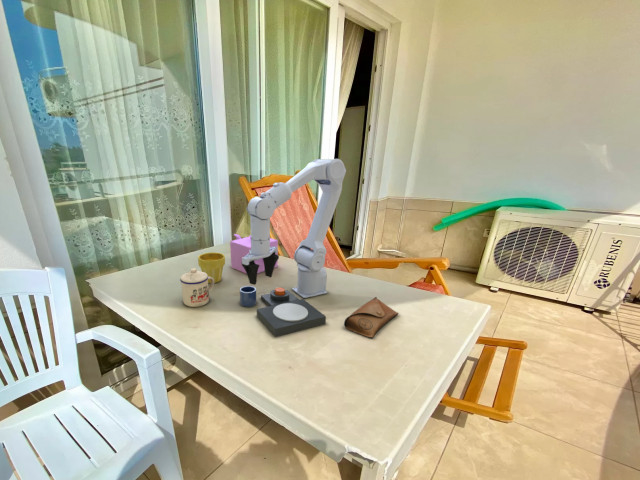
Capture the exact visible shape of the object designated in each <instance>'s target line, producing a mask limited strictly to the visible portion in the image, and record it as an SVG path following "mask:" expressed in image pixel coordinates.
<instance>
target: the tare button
mask: <svg viewBox="0 0 640 480" xmlns="http://www.w3.org/2000/svg"><path fill="white" fill-rule="evenodd" d="M274 290H275V295H285V290H286V289H285V288H284V287H276V288H275V289H274Z"/></svg>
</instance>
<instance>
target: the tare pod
mask: <svg viewBox="0 0 640 480" xmlns="http://www.w3.org/2000/svg"><path fill="white" fill-rule="evenodd" d="M260 299H261V301H262V302H263V303H264V304H266V305H267V307H269V306H273V305H278V304H282V303H287V302H291V301H296V300H300V298H299V297H297V296H296V295H294V294H293V293H292V292H290V290H288V289H285V295H275V289H272V290H270V293H265V294H260Z"/></svg>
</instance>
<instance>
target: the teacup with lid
mask: <svg viewBox="0 0 640 480" xmlns="http://www.w3.org/2000/svg"><path fill="white" fill-rule="evenodd" d="M208 279H211V283H210V284H209V283H208ZM179 281H180V283H181V284H180V285H181V293H182V301H183V304H184V305H185V306H187V307H191V308H198V307H202V306H204V305H207V304H208V303H209V301H210V291H211V290H212V289H213V288H214V286H215V283H214V279H213V278H212V277H208V275H207V274H206V273H204V272H202V271H200V270H197V268H195V267H194V268H193V267H192V268H191V269H190V271H188V272H186V273H183V274H182V275H180V279H179Z"/></svg>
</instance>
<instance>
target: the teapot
mask: <svg viewBox="0 0 640 480" xmlns="http://www.w3.org/2000/svg"><path fill="white" fill-rule="evenodd" d="M233 236H234V237H235V238H236V239H233V240H230V241H229V244H230V245H229V246H230V265H231V268H232V269H234V270H236V271H239V272H241V273H244V274H246V275H247V273H246V271H245V269H244V267H243V266H242V258H243V257H245V256H246V255H247V254H249V251H250V250H251V234H250V235H249V236H245V237H241V235H239V234H237V233H234V234H233ZM272 246H274V247H278V248H279V241H278V239H276V238H275V239H274V238H271V237H270V247H272ZM276 255H279V252H278V253H276ZM254 263H255V264H258V265H260V266H259V268H258V272H257V274H259V273H263V272H265V267H264V261H263V258H261V259H259V260H256V261H254ZM278 263H279V259H278V260H277V262H276V264H275V266H274V269H275V268H277V267H279V265H278Z"/></svg>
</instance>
